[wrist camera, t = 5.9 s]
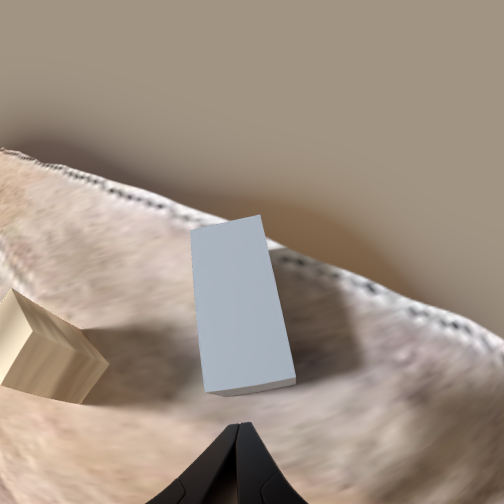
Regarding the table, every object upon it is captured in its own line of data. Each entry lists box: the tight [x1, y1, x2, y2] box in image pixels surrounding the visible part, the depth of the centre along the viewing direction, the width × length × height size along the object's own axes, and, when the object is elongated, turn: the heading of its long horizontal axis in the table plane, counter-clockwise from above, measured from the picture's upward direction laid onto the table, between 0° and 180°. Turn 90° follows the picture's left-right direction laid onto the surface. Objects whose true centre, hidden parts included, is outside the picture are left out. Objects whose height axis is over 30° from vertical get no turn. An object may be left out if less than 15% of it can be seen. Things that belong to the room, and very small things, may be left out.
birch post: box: [0, 288, 110, 404], centre depth 17 cm, size 5×5×9 cm
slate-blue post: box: [190, 215, 296, 397], centre depth 19 cm, size 5×5×11 cm
